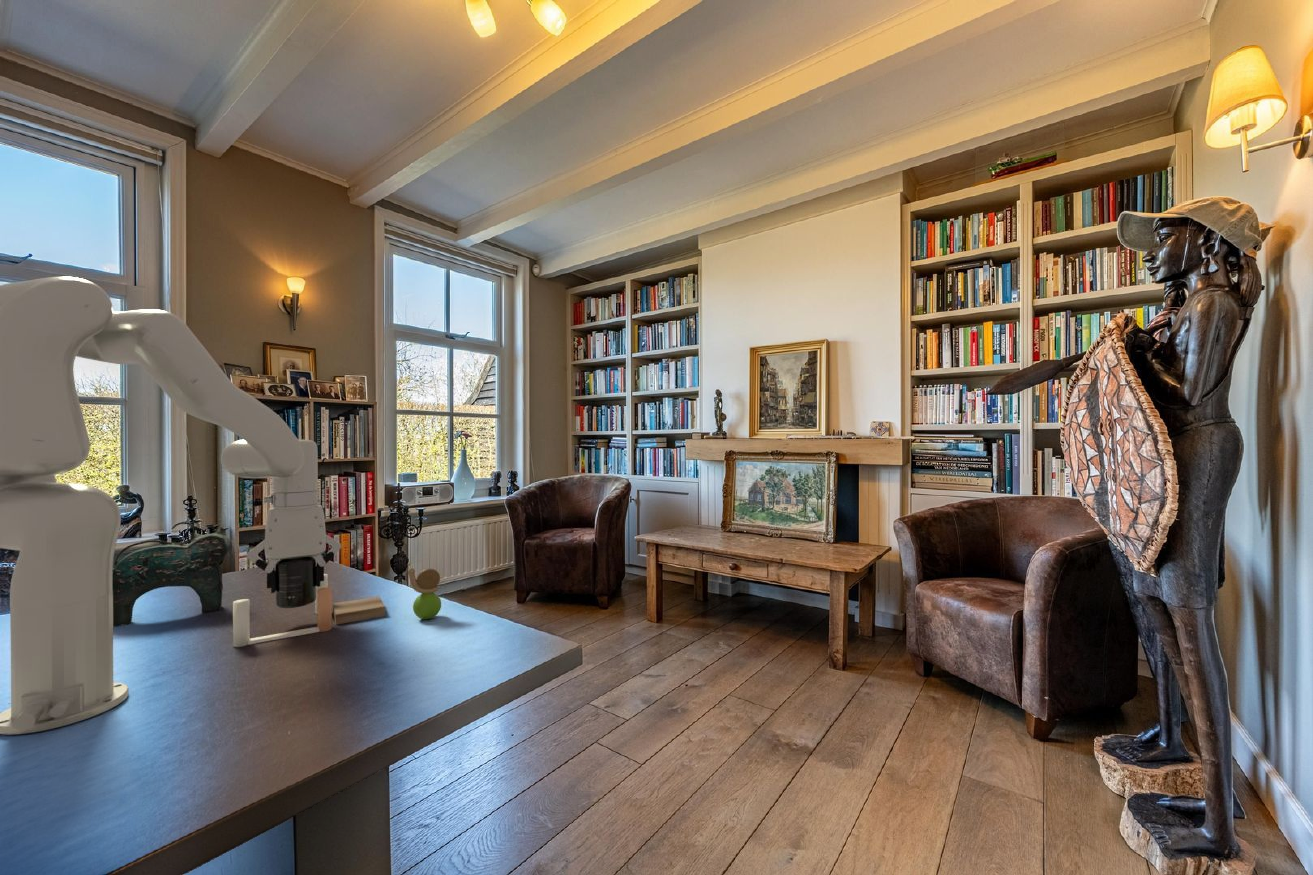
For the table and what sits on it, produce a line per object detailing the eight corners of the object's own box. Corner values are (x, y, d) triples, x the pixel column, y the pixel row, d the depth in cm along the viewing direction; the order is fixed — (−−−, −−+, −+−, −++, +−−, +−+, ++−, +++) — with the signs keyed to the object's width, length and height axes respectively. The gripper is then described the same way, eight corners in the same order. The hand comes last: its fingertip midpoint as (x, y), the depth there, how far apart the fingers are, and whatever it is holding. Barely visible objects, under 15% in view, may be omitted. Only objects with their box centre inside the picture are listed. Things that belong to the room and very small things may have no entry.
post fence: (332, 629, 105) (332, 589, 105) (232, 648, 96) (232, 603, 96) (327, 609, 117) (327, 573, 117) (239, 623, 109) (238, 584, 109)
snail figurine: (407, 617, 112) (407, 560, 112) (440, 612, 115) (440, 557, 115) (407, 625, 107) (407, 565, 107) (442, 620, 110) (441, 562, 110)
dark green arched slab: (231, 603, 122) (230, 516, 122) (230, 611, 117) (229, 520, 117) (109, 622, 110) (108, 526, 110) (101, 631, 105) (100, 530, 105)
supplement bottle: (283, 600, 110) (283, 542, 110) (321, 597, 112) (320, 540, 112) (269, 610, 103) (269, 548, 103) (309, 607, 105) (309, 546, 105)
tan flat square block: (385, 615, 113) (385, 606, 113) (335, 624, 108) (335, 614, 108) (379, 605, 120) (379, 596, 120) (332, 612, 115) (332, 603, 115)
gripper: (240, 505, 100) (240, 600, 100) (346, 499, 110) (347, 585, 109) (242, 501, 106) (243, 591, 106) (343, 496, 116) (344, 577, 116)
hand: (296, 587), depth 108 cm, fingers closed on supplement bottle, 6 cm apart
